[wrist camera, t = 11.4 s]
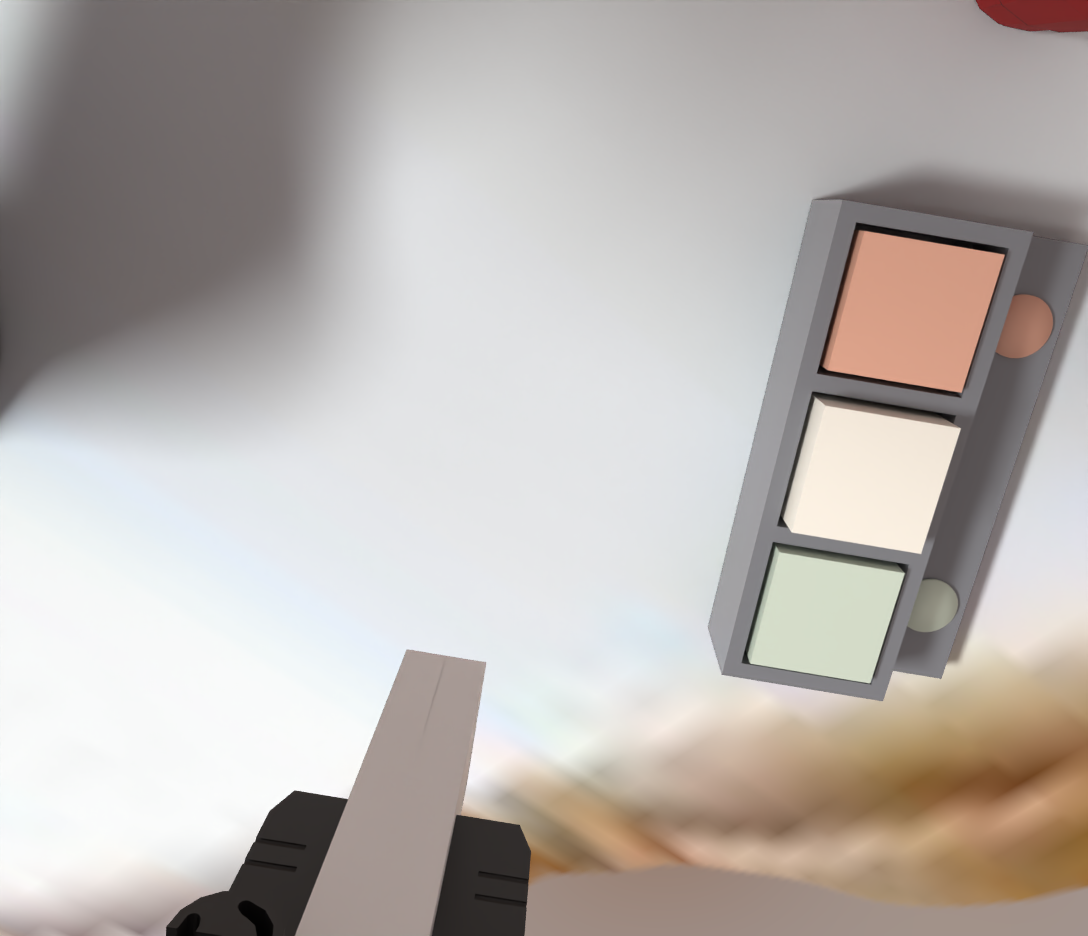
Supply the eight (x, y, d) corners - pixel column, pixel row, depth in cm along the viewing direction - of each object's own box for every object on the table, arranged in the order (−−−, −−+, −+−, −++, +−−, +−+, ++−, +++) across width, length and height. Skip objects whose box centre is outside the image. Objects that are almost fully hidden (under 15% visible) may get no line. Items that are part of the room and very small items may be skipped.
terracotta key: (810, 358, 41) (827, 370, 38) (843, 228, 39) (864, 230, 36) (934, 379, 41) (961, 392, 38) (973, 250, 39) (1004, 254, 36)
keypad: (707, 627, 48) (721, 674, 43) (812, 199, 41) (842, 199, 36) (930, 664, 48) (969, 715, 43) (1071, 243, 41) (1136, 249, 36)
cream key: (777, 509, 42) (791, 532, 39) (808, 391, 40) (825, 405, 37) (897, 530, 42) (921, 554, 39) (933, 412, 40) (960, 428, 37)
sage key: (739, 634, 45) (750, 663, 42) (766, 529, 43) (779, 552, 41) (851, 652, 45) (870, 683, 42) (883, 548, 43) (904, 573, 41)
